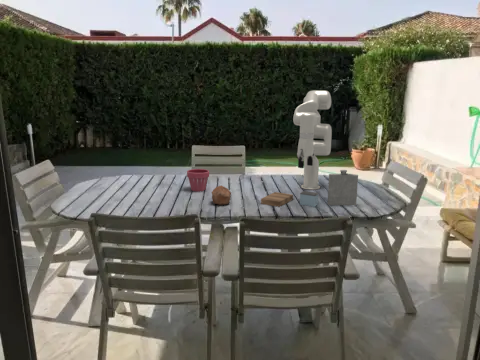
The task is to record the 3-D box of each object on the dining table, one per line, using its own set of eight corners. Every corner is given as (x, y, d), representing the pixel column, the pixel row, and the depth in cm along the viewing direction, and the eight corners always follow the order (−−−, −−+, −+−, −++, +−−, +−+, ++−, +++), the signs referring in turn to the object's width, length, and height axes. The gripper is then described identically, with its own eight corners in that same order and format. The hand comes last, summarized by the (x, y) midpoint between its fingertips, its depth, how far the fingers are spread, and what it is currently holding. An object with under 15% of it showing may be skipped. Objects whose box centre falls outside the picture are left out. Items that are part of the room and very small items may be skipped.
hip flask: (327, 204, 230) (329, 170, 226) (327, 202, 234) (328, 169, 230) (356, 205, 228) (358, 171, 224) (355, 203, 232) (357, 169, 228)
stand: (274, 196, 247) (275, 191, 247) (293, 199, 241) (293, 194, 241) (260, 203, 232) (261, 198, 232) (279, 206, 226) (280, 201, 226)
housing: (303, 202, 235) (303, 191, 234) (317, 204, 231) (318, 193, 229) (299, 204, 231) (300, 192, 230) (314, 206, 227) (315, 195, 225)
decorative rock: (211, 200, 239) (211, 184, 237) (230, 200, 240) (230, 183, 238) (211, 206, 227) (211, 189, 224) (231, 206, 227) (231, 189, 225)
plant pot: (211, 187, 270) (210, 168, 267) (207, 193, 256) (207, 173, 253) (190, 187, 271) (189, 168, 268) (185, 192, 257) (184, 172, 255)
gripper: (308, 134, 231) (307, 163, 235) (292, 136, 218) (291, 168, 222) (320, 135, 227) (318, 165, 230) (304, 137, 214) (303, 169, 217)
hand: (305, 166), depth 226 cm, fingers open, 9 cm apart
